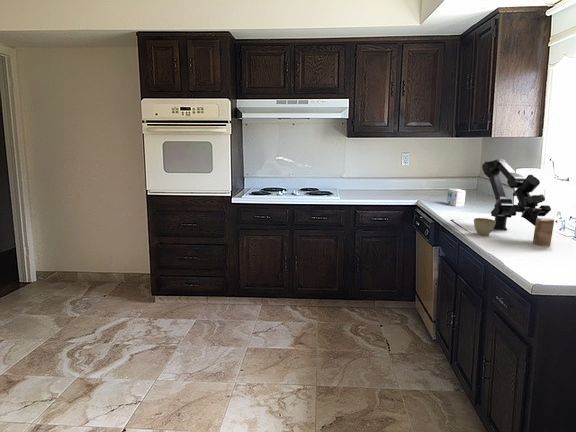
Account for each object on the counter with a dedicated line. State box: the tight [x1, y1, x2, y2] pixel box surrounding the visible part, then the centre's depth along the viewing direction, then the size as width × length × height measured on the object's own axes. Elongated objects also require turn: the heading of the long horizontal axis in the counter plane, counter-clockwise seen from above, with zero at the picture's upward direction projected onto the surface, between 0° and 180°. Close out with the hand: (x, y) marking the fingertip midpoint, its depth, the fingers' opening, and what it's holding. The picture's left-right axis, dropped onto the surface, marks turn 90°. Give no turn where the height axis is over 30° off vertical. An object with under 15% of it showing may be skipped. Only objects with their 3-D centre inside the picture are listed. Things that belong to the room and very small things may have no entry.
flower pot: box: [473, 217, 496, 236], centre depth 232 cm, size 10×10×7 cm
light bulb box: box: [446, 188, 467, 207], centre depth 319 cm, size 11×7×11 cm, turn 17°
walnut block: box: [532, 217, 555, 247], centre depth 216 cm, size 4×6×12 cm, turn 98°
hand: (536, 225), depth 221 cm, fingers closed
